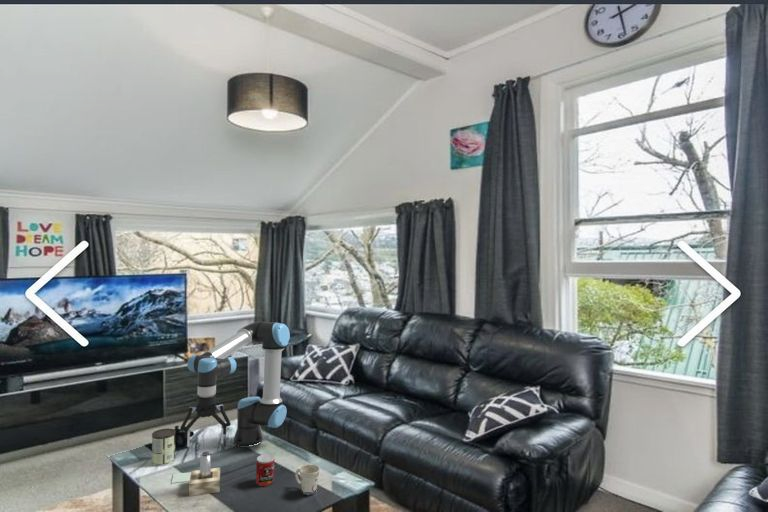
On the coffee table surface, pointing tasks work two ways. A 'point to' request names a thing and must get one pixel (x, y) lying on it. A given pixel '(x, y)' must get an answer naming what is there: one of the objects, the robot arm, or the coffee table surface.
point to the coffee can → (163, 447)
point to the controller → (181, 434)
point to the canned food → (265, 469)
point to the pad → (181, 477)
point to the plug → (205, 465)
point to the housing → (204, 483)
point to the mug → (308, 477)
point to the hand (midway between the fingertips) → (205, 443)
